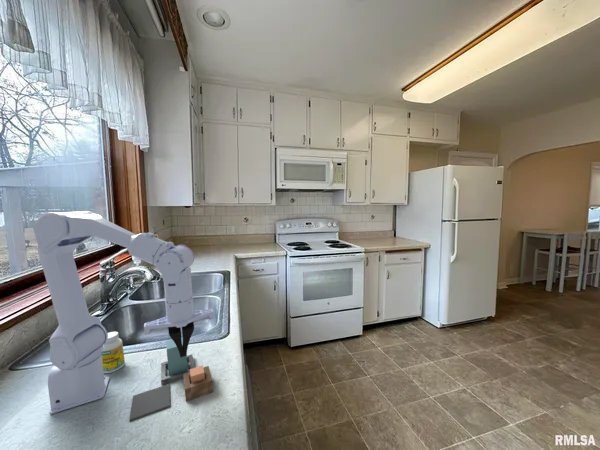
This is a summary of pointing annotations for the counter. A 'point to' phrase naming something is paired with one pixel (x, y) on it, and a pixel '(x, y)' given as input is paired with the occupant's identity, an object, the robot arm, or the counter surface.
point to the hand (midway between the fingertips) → (183, 354)
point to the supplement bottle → (112, 353)
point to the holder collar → (176, 376)
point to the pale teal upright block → (175, 358)
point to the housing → (198, 385)
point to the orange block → (197, 374)
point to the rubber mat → (150, 402)
